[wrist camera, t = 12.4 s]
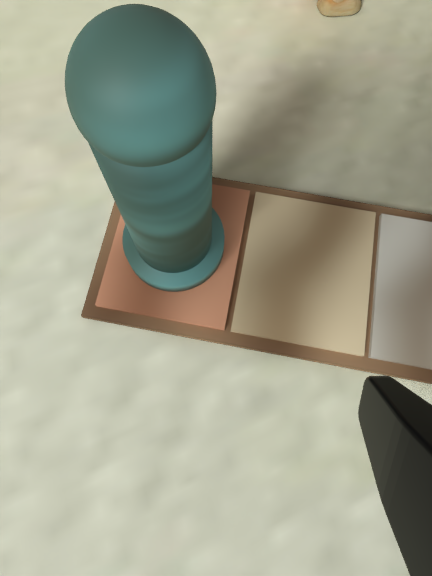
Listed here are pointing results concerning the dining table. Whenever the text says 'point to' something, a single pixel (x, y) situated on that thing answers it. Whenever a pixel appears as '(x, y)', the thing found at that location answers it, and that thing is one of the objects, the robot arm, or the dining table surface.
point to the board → (293, 282)
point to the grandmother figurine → (338, 7)
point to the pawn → (151, 138)
